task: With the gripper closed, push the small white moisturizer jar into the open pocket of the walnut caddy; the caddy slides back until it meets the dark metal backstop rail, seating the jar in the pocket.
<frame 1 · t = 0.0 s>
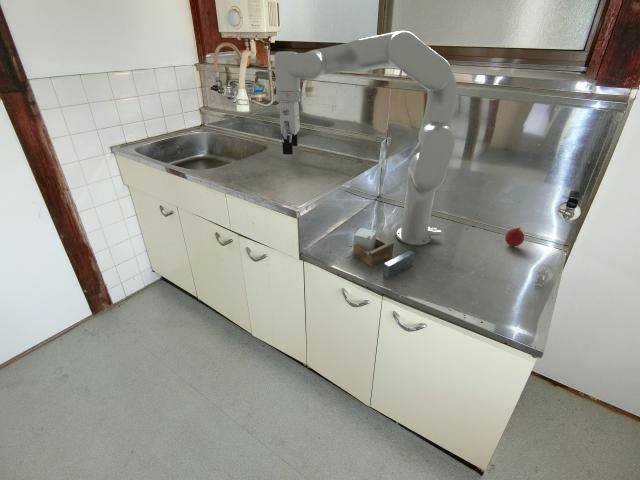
hand: (290, 149, 122), 31 cm above the counter, fingers open, 9 cm apart
caddy: (373, 249, 121), point 3 cm above the counter, slide at 0.0 cm
backstop rail: (371, 255, 123), on the counter
onion: (511, 247, 128), on the counter
skincare box: (364, 251, 125), on the counter
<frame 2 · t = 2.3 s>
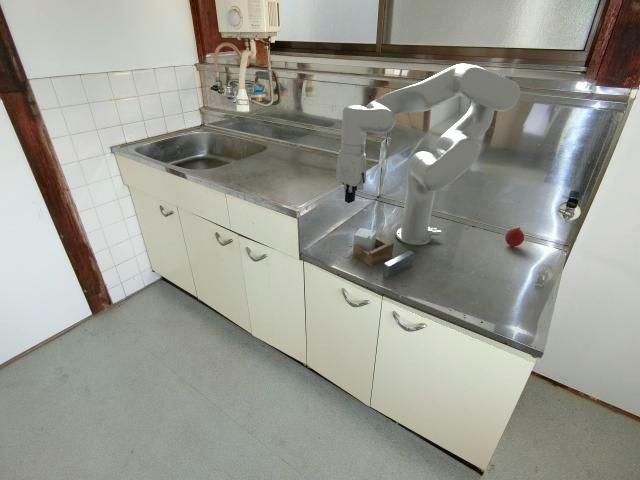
hand: (349, 201, 122), 16 cm above the counter, fingers closed
nothing on the counter moved.
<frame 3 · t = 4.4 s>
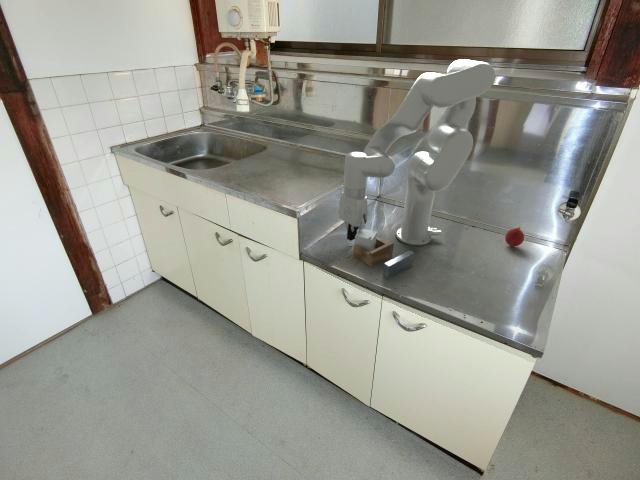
hand: (351, 238, 128), 2 cm above the counter, fingers closed
skincare box: (364, 252, 125), on the counter, touching gripper
everything else where it was.
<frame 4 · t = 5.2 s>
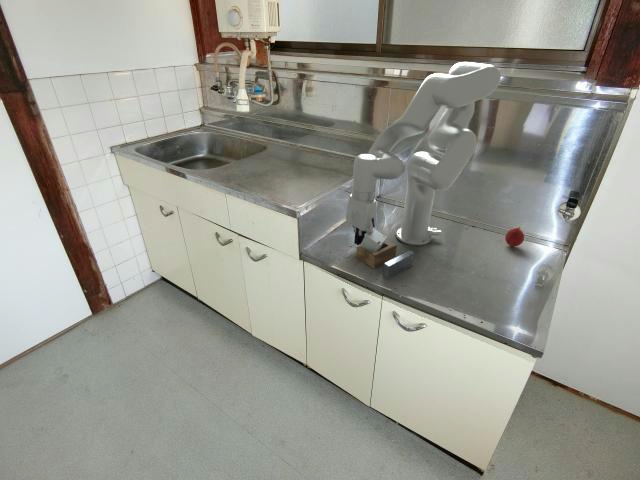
hand: (359, 243, 124), 3 cm above the counter, fingers closed
caddy: (376, 251, 120), point 3 cm above the counter, slide at 1.3 cm
skincare box: (367, 251, 123), point 1 cm above the counter, touching gripper
everything else where it was.
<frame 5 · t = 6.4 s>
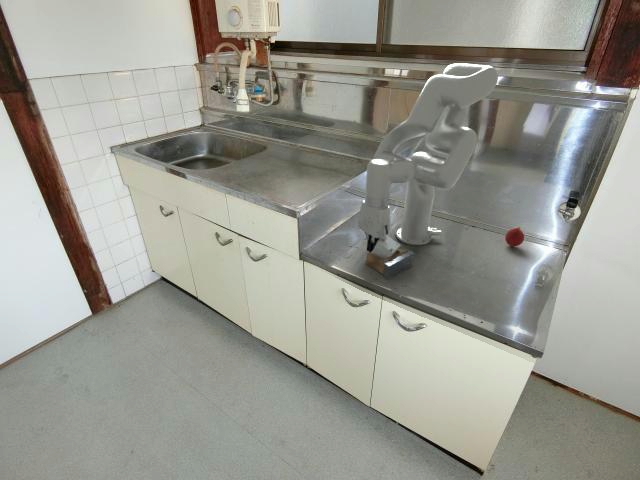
hand: (371, 250, 121), 3 cm above the counter, fingers closed
caddy: (386, 257, 117), point 3 cm above the counter, slide at 6.0 cm, touching backstop rail, skincare box
skincare box: (380, 259, 119), point 1 cm above the counter, touching caddy, gripper
everything else where it was.
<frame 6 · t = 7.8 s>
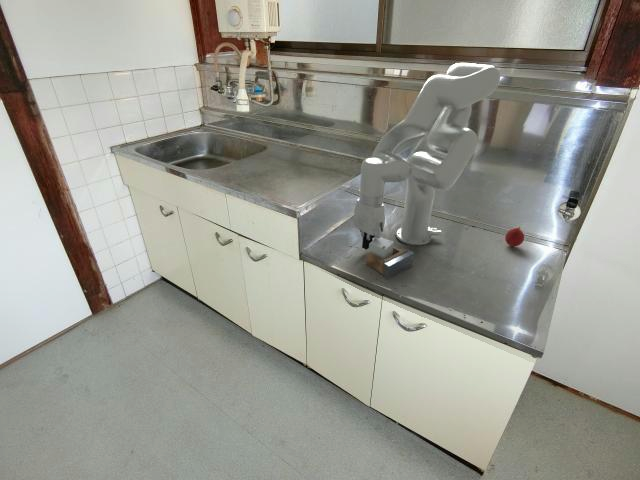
hand: (366, 247, 123), 2 cm above the counter, fingers closed
caddy: (386, 257, 117), point 3 cm above the counter, slide at 6.0 cm, touching backstop rail
skincare box: (379, 261, 120), on the counter
everything else where it was.
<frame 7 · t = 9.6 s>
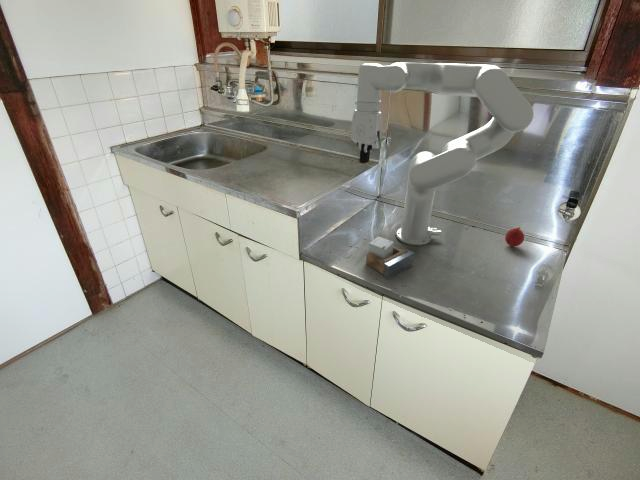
hand: (364, 162, 124), 27 cm above the counter, fingers closed
nothing on the counter moved.
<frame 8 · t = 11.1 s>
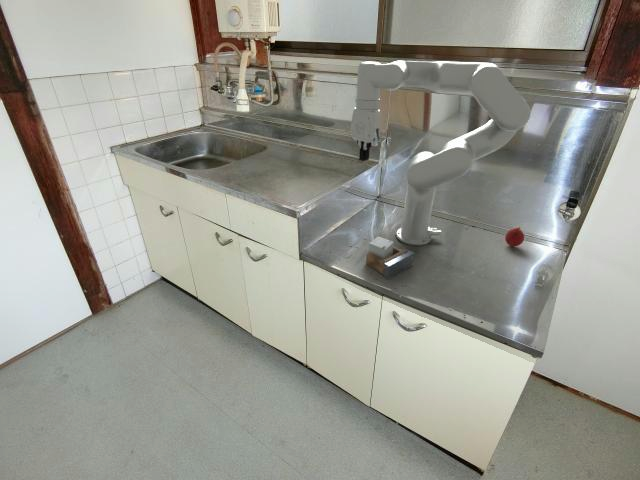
hand: (364, 159, 126), 27 cm above the counter, fingers closed
nothing on the counter moved.
at the end: caddy slide at 6.0 cm; skincare box 2.2 cm from the target spot on the backstop rail, point 0.0 cm above the backstop rail's base; skincare box tilted 0° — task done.
